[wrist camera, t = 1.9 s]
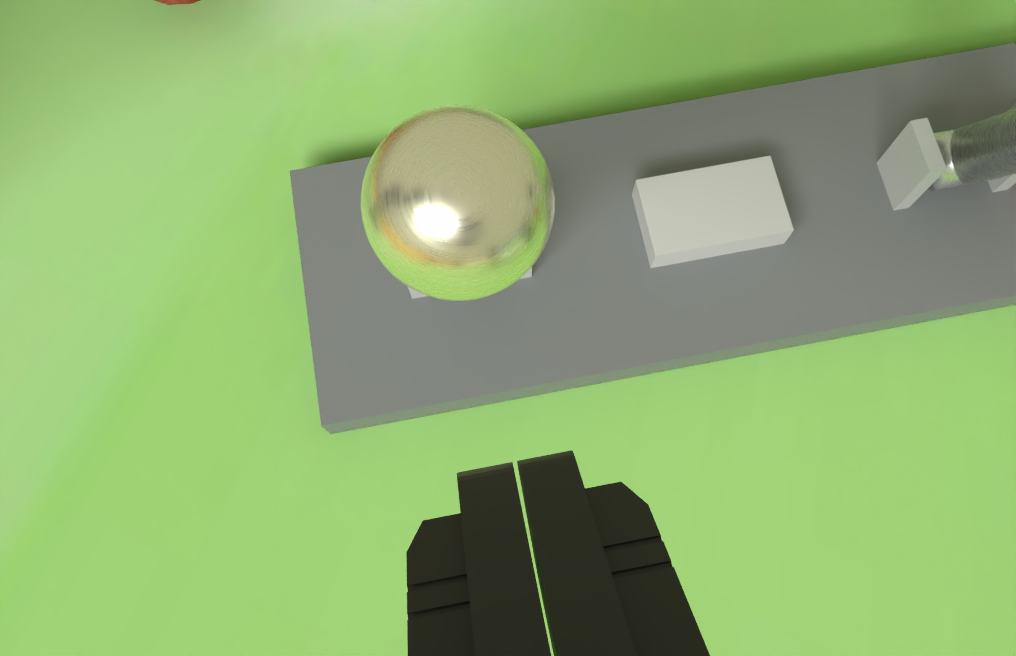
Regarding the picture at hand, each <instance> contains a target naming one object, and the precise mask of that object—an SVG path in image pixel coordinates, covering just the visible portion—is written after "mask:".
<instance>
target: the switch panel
mask: <svg viewBox="0 0 1016 656" xmlns="http://www.w3.org/2000/svg"><path fill="white" fill-rule="evenodd" d="M1014 109H1016V42H1015V43H1010V44H1004V45H998V46H993V47H987V48H981V49H976V50H970V51H964V52H959V53H953V54H947V55H942V56H936V57H931V58H925V59H919V60H914V61H908V62H902V63H897V64H891V65H885V66H880V67H874V68H868V69H863V70H857V71H851V72H846V73H840V74H834V75H829V76H823V77H818V78H812V79H806V80H801V81H795V82H789V83H784V84H778V85H772V86H767V87H761V88H755V89H750V90H744V91H738V92H733V93H727V94H721V95H716V96H710V97H705V98H699V99H693V100H688V101H682V102H676V103H671V104H665V105H659V106H654V107H648V108H642V109H637V110H631V111H625V112H620V113H614V114H608V115H603V116H597V117H592V118H586V119H580V120H575V121H569V122H563V123H558V124H552V125H546V126H541V127H535V128H529V129H524V130H523V131H524V132H525V133H526V134H527V136H528V137H529V138H530V139H531V140H532V141H533V142H534V144H535V145H536V146H537V148H538V149H539V151H540V152H541V154H542V156H543V158H544V160H545V161H546V164H547V166H548V169H549V172H550V174H551V178H552V182H553V187H554V196H555V212H554V219H553V225H552V228H551V232H550V235H549V238H548V240H547V243H546V245H545V247H544V249H543V251H542V253H541V254H540V256H539V258H538V259H537V261H536V262H535V263H534V265H533V266H532V267H531V268H530V270H529V271H527V272H526V273H525V274H524V275H523V276H522V277H521V278H520V279H519V280H517V281H516V282H515V283H513V284H512V285H511V286H509V287H507V288H505V289H504V290H502V291H500V292H498V293H495V294H493V295H490V296H487V297H483V298H479V299H475V300H466V301H450V300H443V299H437V298H434V297H430V296H427V295H424V294H422V293H420V292H417V291H415V290H413V289H412V288H410V287H408V286H406V285H405V284H403V283H402V282H401V281H399V280H398V279H397V278H396V277H394V276H393V275H392V274H391V273H390V272H389V271H388V270H387V269H386V268H385V266H384V265H383V264H382V262H381V261H380V260H379V258H378V257H377V256H376V254H375V252H374V250H373V248H372V247H371V245H370V243H369V240H368V238H367V235H366V233H365V229H364V225H363V221H362V214H361V190H362V183H363V179H364V175H365V172H366V169H367V166H368V164H369V162H370V159H371V157H372V156H371V157H365V158H360V159H354V160H349V161H343V162H337V163H332V164H326V165H320V166H315V167H309V168H303V169H298V170H292V171H290V176H291V185H292V193H293V201H294V209H295V217H296V225H297V233H298V241H299V249H300V257H301V265H302V273H303V281H304V289H305V297H306V305H307V313H308V321H309V329H310V338H311V346H312V354H313V362H314V370H315V378H316V386H317V394H318V402H319V410H320V418H321V426H322V427H323V428H325V429H326V430H327V431H328V432H329V433H330V434H333V433H338V432H343V431H348V430H354V429H359V428H364V427H370V426H375V425H380V424H385V423H391V422H396V421H401V420H407V419H412V418H417V417H423V416H428V415H433V414H438V413H444V412H449V411H454V410H460V409H465V408H470V407H476V406H481V405H486V404H491V403H497V402H502V401H507V400H513V399H518V398H523V397H528V396H534V395H539V394H544V393H550V392H555V391H560V390H566V389H571V388H576V387H581V386H587V385H592V384H597V383H603V382H608V381H613V380H618V379H624V378H629V377H634V376H640V375H645V374H650V373H656V372H661V371H666V370H671V369H677V368H682V367H687V366H693V365H698V364H703V363H709V362H714V361H719V360H724V359H730V358H735V357H740V356H746V355H751V354H756V353H761V352H767V351H772V350H777V349H783V348H788V347H793V346H799V345H804V344H809V343H814V342H820V341H825V340H830V339H836V338H841V337H846V336H852V335H857V334H862V333H867V332H873V331H878V330H883V329H889V328H894V327H899V326H904V325H910V324H915V323H920V322H926V321H931V320H936V319H942V318H947V317H952V316H957V315H963V314H968V313H973V312H979V311H984V310H989V309H994V308H1000V307H1005V306H1010V305H1016V174H1011V175H1007V176H1003V177H1002V178H999V179H993V180H988V181H982V182H977V183H972V184H966V185H961V186H955V187H950V188H944V189H939V190H928V188H929V187H930V186H931V185H932V184H933V183H934V182H935V181H936V180H937V179H938V178H939V177H940V176H941V175H942V174H943V173H944V172H945V171H946V170H947V168H946V165H945V162H944V160H943V157H942V155H941V152H940V149H939V147H938V144H937V142H936V139H935V136H934V134H933V133H937V132H943V131H948V130H954V129H958V128H961V127H964V126H967V125H970V124H973V123H976V122H979V121H982V120H984V119H987V118H990V117H993V116H996V115H999V114H1002V113H1005V112H1008V111H1011V110H1014Z"/></svg>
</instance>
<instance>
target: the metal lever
mask: <svg viewBox="0 0 1016 656" xmlns="http://www.w3.org/2000/svg"><path fill="white" fill-rule="evenodd" d="M554 212H555V196H554V187H553V182H552V178H551V174H550V172H549V169H548V166H547V164H546V161H545V160H544V158H543V156H542V154H541V152H540V151H539V149H538V148H537V146H536V145H535V144H534V142H533V141H532V140H531V139H530V138H529V137H528V136H527V134H526V133H525V132H524V131H523V130H521V129H520V128H519V127H518V126H516V125H515V124H514V123H512V122H511V121H509V120H508V119H506V118H504V117H503V116H501V115H498V114H496V113H494V112H492V111H489V110H486V109H482V108H479V107H473V106H467V105H448V106H440V107H436V108H432V109H428V110H425V111H423V112H420V113H418V114H415V115H414V116H412V117H410V118H408V119H406V120H405V121H403V122H402V123H401V124H399V125H398V126H397V127H395V128H394V129H393V130H392V131H391V132H390V133H389V134H388V135H387V136H386V137H385V138H384V139H383V141H382V142H381V143H380V145H379V146H378V147H377V149H376V150H375V152H374V154H373V156H372V157H371V159H370V162H369V164H368V166H367V169H366V172H365V175H364V179H363V183H362V190H361V214H362V221H363V225H364V229H365V233H366V235H367V238H368V240H369V243H370V245H371V247H372V248H373V250H374V252H375V254H376V256H377V257H378V258H379V260H380V261H381V262H382V264H383V265H384V266H385V268H386V269H387V270H388V271H389V272H390V273H391V274H392V275H393V276H394V277H396V278H397V279H398V280H399V281H401V282H402V283H403V284H405V285H406V286H408V287H410V288H412V289H413V290H415V291H417V292H420V293H422V294H424V295H427V296H430V297H434V298H437V299H443V300H450V301H466V300H475V299H479V298H483V297H487V296H490V295H493V294H495V293H498V292H500V291H502V290H504V289H505V288H507V287H509V286H511V285H512V284H513V283H515V282H516V281H517V280H519V279H520V278H521V277H522V276H523V275H524V274H525V273H526V272H527V271H529V270H530V268H531V267H532V266H533V265H534V263H535V262H536V261H537V259H538V258H539V256H540V254H541V253H542V251H543V249H544V247H545V245H546V243H547V240H548V238H549V235H550V232H551V228H552V225H553V219H554Z"/></svg>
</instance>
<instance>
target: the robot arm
mask: <svg viewBox="0 0 1016 656" xmlns="http://www.w3.org/2000/svg"><path fill="white" fill-rule="evenodd" d="M517 463H518V469H519V475H520V480H521V486H522V492H523V497H524V503H525V508H526V514H527V519H528V525H529V530H530V536H531V541H532V547H533V552H534V558H535V563H536V568H537V574H538V579H539V584H540V589H541V594H542V599H543V604H544V609H545V614H546V619H547V624H548V628H549V633H550V638H551V643H552V648H553V653H554V656H710V655H709V652H708V650H707V647H706V645H705V643H704V640H703V638H702V635H701V633H700V630H699V628H698V625H697V623H696V621H695V618H694V616H693V613H692V611H691V608H690V606H689V603H688V601H687V599H686V596H685V594H684V591H683V589H682V586H681V584H680V581H679V579H678V577H677V574H676V572H675V569H674V567H672V564H671V559H670V557H669V555H668V552H667V550H666V547H665V545H664V542H663V541H662V540H661V535H660V533H659V530H658V528H657V525H656V523H655V520H654V518H653V515H652V513H651V511H650V508H649V506H648V504H647V503H646V502H644V501H643V500H642V499H641V498H640V497H638V496H637V495H636V494H635V493H634V492H633V491H631V490H630V489H629V488H628V487H627V486H626V485H624V484H623V483H622V482H617V483H612V484H607V485H602V486H597V487H592V488H587V489H585V488H584V485H583V481H582V478H581V475H580V472H579V469H578V466H577V462H576V459H575V456H574V453H573V451H566V452H561V453H556V454H551V455H546V456H541V457H535V458H530V459H525V460H520V461H517ZM457 480H458V490H459V500H460V510H461V513H460V514H455V515H450V516H444V517H439V518H434V519H429V520H424V521H422V523H421V525H420V527H419V529H418V531H417V533H416V535H415V537H414V539H413V541H412V543H411V545H410V547H409V549H408V551H407V587H408V592H407V614H408V620H407V622H408V656H551V653H550V648H549V643H548V638H547V633H546V628H545V623H544V618H543V613H542V608H541V603H540V598H539V593H538V588H537V583H536V578H535V573H534V568H533V563H532V558H531V553H530V548H529V543H528V538H527V533H526V528H525V523H524V518H523V513H522V508H521V503H520V498H519V493H518V488H517V483H516V478H515V473H514V468H513V463H512V462H511V463H506V464H501V465H495V466H490V467H485V468H480V469H475V470H470V471H464V472H459V473H457Z"/></svg>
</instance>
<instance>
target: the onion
mask: <svg viewBox="0 0 1016 656" xmlns="http://www.w3.org/2000/svg"><path fill="white" fill-rule="evenodd" d="M155 1H158V2H161V3H165V4H168V5H172V4H190V3H194V2H197V1H200V0H155Z"/></svg>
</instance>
